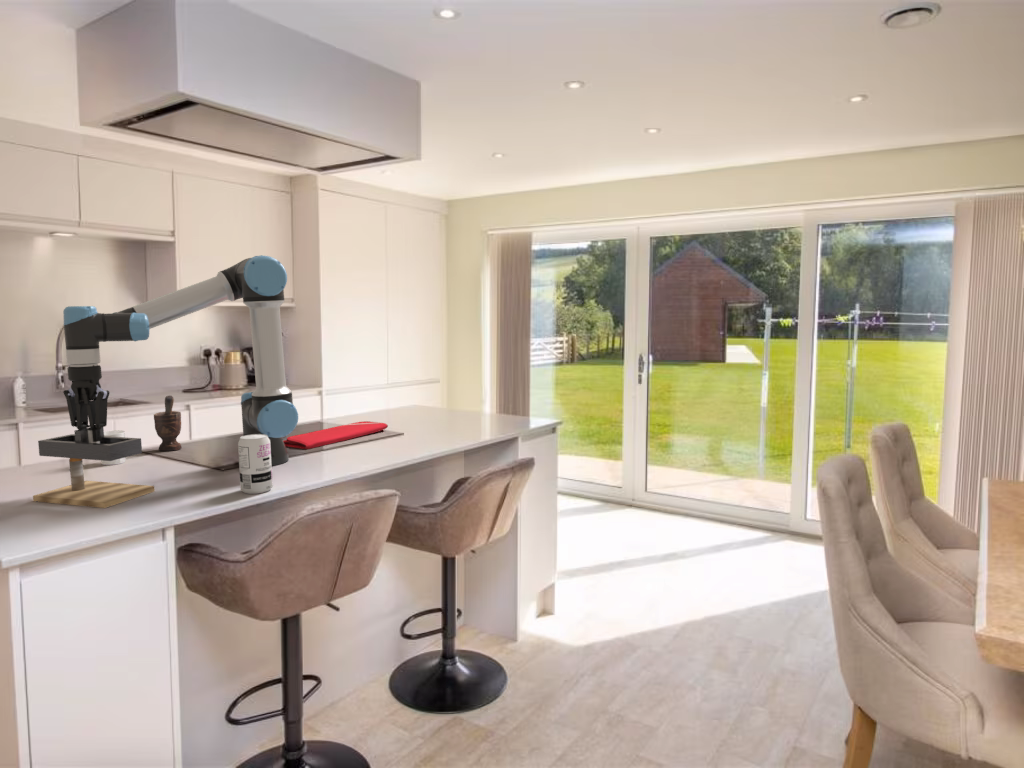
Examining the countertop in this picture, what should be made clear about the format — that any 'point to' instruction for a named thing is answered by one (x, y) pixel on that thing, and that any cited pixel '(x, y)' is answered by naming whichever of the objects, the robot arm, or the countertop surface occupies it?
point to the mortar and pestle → (168, 426)
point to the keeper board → (92, 490)
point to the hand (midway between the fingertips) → (91, 453)
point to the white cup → (114, 434)
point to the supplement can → (255, 463)
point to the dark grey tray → (90, 447)
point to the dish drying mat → (333, 434)
